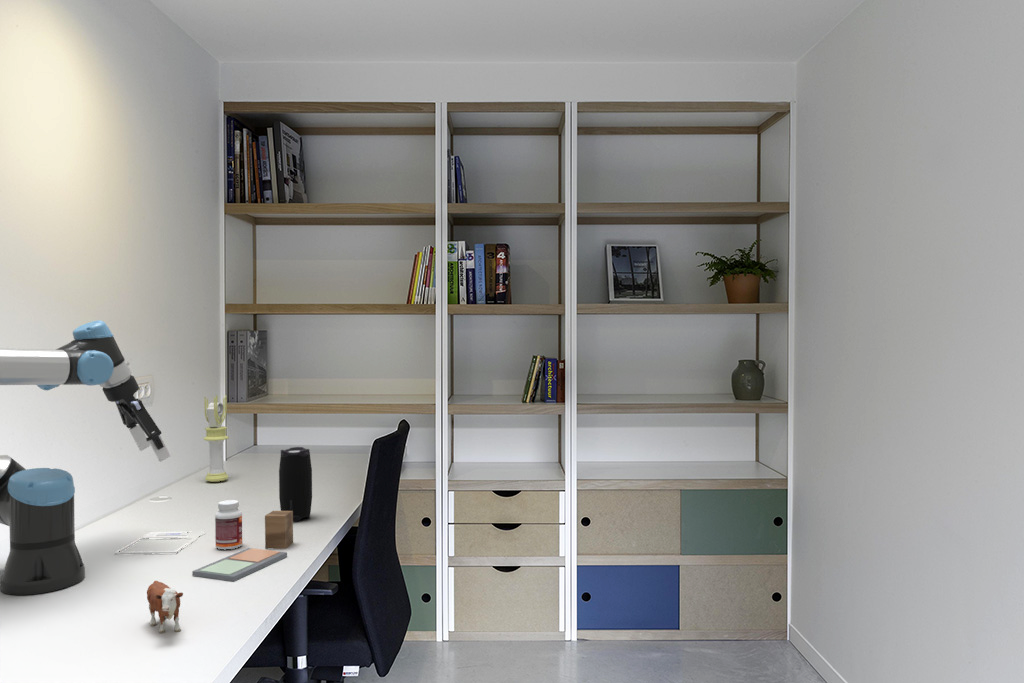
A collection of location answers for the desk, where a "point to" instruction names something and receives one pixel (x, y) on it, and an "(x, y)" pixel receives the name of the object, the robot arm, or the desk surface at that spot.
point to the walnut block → (279, 529)
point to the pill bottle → (228, 525)
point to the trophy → (216, 438)
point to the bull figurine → (163, 604)
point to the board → (240, 564)
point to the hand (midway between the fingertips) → (155, 453)
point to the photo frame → (155, 535)
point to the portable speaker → (295, 482)
